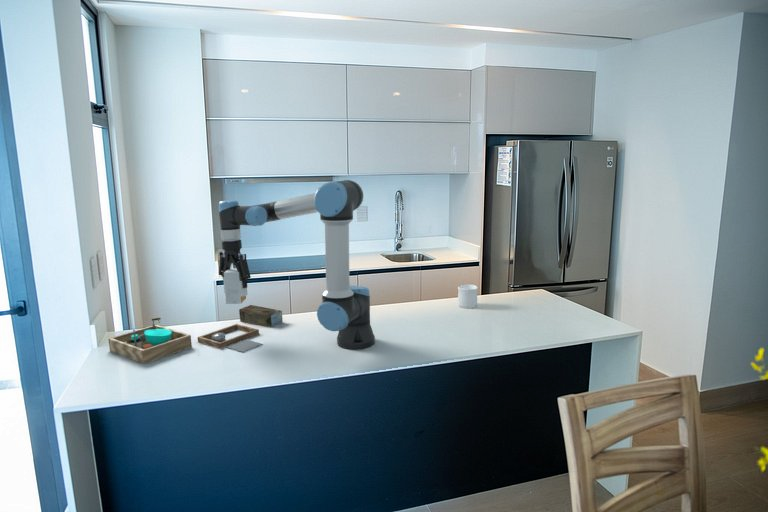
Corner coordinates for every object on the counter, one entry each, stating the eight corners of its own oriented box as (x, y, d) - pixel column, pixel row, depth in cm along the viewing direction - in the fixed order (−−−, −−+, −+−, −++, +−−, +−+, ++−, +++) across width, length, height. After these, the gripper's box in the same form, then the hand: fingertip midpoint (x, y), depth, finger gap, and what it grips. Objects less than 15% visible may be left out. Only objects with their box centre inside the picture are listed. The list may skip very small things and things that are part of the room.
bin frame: (259, 334, 221) (258, 329, 221) (220, 348, 205) (219, 343, 205) (237, 328, 229) (236, 323, 229) (197, 341, 213) (197, 337, 212)
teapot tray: (191, 347, 207) (190, 335, 206) (144, 363, 191) (142, 350, 190) (156, 335, 221) (155, 324, 220) (109, 350, 205) (108, 338, 204)
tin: (228, 341, 214) (227, 334, 213) (217, 344, 210) (217, 337, 209) (220, 338, 216) (219, 331, 216) (210, 342, 212) (209, 335, 212)
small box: (241, 303, 209) (239, 272, 206) (225, 304, 209) (223, 272, 206) (246, 298, 217) (244, 267, 214) (231, 299, 217) (228, 268, 214)
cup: (457, 308, 253) (457, 289, 251) (458, 302, 263) (458, 284, 261) (477, 309, 252) (477, 289, 250) (477, 303, 261) (477, 284, 259)
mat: (262, 344, 208) (262, 343, 208) (242, 352, 200) (242, 351, 200) (245, 340, 214) (245, 339, 214) (225, 347, 206) (225, 346, 206)
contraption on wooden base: (125, 347, 208) (120, 311, 205) (173, 338, 216) (170, 303, 213) (127, 359, 196) (121, 321, 193) (178, 350, 204) (174, 313, 201)
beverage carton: (271, 328, 229) (270, 313, 228) (238, 322, 238) (237, 308, 237) (283, 323, 236) (282, 308, 235) (251, 317, 245) (250, 303, 244)
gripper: (257, 240, 205) (261, 295, 209) (221, 236, 217) (226, 288, 222) (242, 243, 199) (246, 299, 203) (206, 238, 211) (211, 292, 216)
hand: (235, 294), depth 212 cm, fingers closed on small box, 10 cm apart
